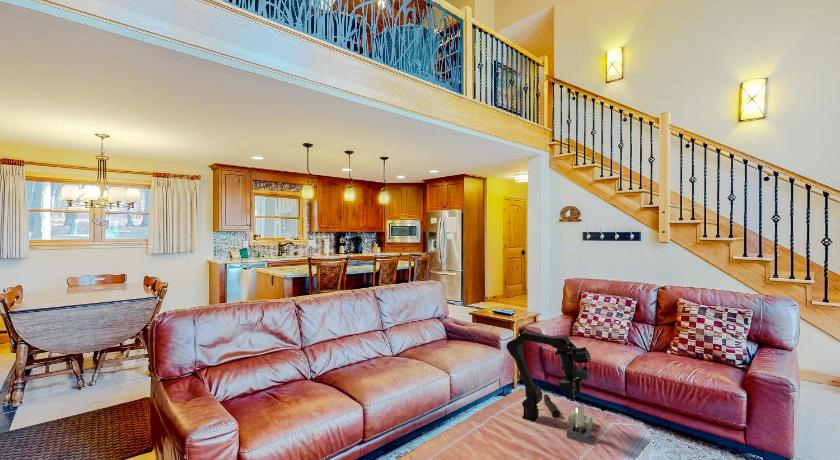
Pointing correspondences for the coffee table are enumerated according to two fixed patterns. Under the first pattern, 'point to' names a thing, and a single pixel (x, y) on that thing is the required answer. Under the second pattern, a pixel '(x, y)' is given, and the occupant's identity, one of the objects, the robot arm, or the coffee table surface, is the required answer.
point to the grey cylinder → (579, 419)
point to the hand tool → (551, 406)
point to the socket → (579, 434)
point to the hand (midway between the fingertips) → (576, 397)
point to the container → (587, 419)
